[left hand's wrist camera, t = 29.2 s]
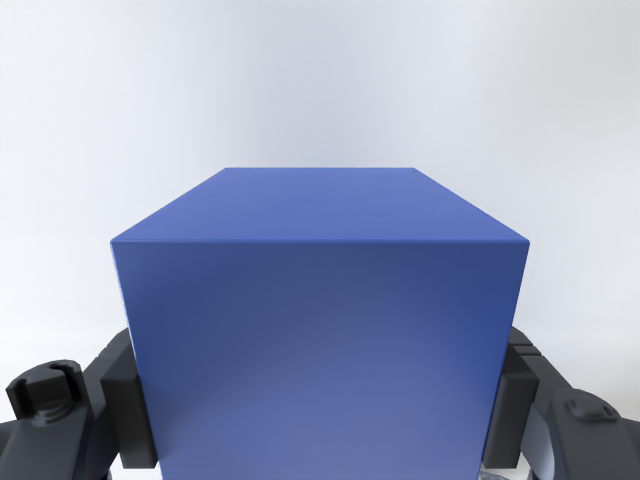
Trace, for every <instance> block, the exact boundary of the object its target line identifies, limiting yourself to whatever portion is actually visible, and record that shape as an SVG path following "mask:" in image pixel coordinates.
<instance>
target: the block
mask: <svg viewBox="0 0 640 480" xmlns="http://www.w3.org/2000/svg"><path fill="white" fill-rule="evenodd" d="M529 246H530V242H529V240H528V239H526V238H525V237H523V236H521V235H520V234H518V233H517V232H515V231H513V230H512V229H510V228H509V227H507V226H505V225H504V224H502V223H501V222H499V221H498V220H496V219H494V218H493V217H491V216H490V215H488V214H486V213H485V212H483V211H482V210H480V209H478V208H477V207H475V206H474V205H472V204H470V203H469V202H467V201H466V200H464V199H463V198H461V197H459V196H458V195H456V194H455V193H453V192H451V191H450V190H448V189H447V188H445V187H443V186H442V185H440V184H439V183H437V182H436V181H434V180H432V179H431V178H429V177H428V176H426V175H424V174H423V173H421V172H420V171H418V170H416V169H415V168H225V169H223V170H222V171H220V172H218V173H217V174H215V175H214V176H212V177H211V178H209V179H207V180H206V181H204V182H203V183H201V184H199V185H198V186H196V187H195V188H193V189H191V190H190V191H188V192H187V193H185V194H183V195H182V196H180V197H179V198H177V199H175V200H174V201H172V202H171V203H169V204H168V205H166V206H164V207H163V208H161V209H160V210H158V211H156V212H155V213H153V214H152V215H150V216H148V217H147V218H145V219H144V220H142V221H140V222H139V223H137V224H136V225H134V226H133V227H131V228H129V229H128V230H126V231H125V232H123V233H121V234H120V235H118V236H117V237H115V238H113V239H112V240H111V241H110V247H111V251H112V256H113V260H114V265H115V269H116V274H117V278H118V283H119V288H120V292H121V297H122V301H123V306H124V310H125V315H126V319H127V324H128V328H129V333H130V337H131V342H132V347H133V351H134V356H135V360H136V365H137V369H138V374H139V378H140V383H141V387H142V392H143V396H144V401H145V405H146V410H147V415H148V419H149V424H150V428H151V433H152V437H153V442H154V446H155V451H156V455H157V460H158V464H159V469H160V474H161V478H162V480H478V476H479V472H480V467H481V463H482V458H483V454H484V449H485V445H486V440H487V436H488V431H489V427H490V422H491V418H492V413H493V408H494V404H495V399H496V395H497V390H498V386H499V381H500V377H501V372H502V368H503V363H504V359H505V354H506V350H507V345H508V341H509V336H510V332H511V327H512V323H513V318H514V313H515V309H516V304H517V300H518V295H519V291H520V286H521V282H522V277H523V273H524V268H525V264H526V259H527V255H528V250H529Z"/></svg>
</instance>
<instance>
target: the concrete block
mask: <svg viewBox="0 0 640 480" xmlns="http://www.w3.org/2000/svg"><path fill="white" fill-rule="evenodd" d="M478 480H509V479H506V478H504V477H502V476H499V475H495V474H490V473H485V472H479V476H478Z"/></svg>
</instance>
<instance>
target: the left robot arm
mask: <svg viewBox="0 0 640 480" xmlns="http://www.w3.org/2000/svg"><path fill="white" fill-rule="evenodd" d="M5 390H6V392H7V395H8V397H9V400H10V403H11V405H12V408H13V410H14V413H15V415H16V418H17V420H13V421H9V422H5V423H0V480H112V475H111V471H110V466H111V465H112V463H113V461H114V459H115V458H116V456H117V454H118V453H119V454H120V457H121V461H122V465H123V468H124V469H154V468H155V466H156V464H157V462H158V460H157V455H156V451H155V446H154V442H153V437H152V433H151V428H150V424H149V419H148V415H147V410H146V405H145V401H144V396H143V392H142V387H141V383H140V378H139V374H138V369H137V365H136V360H135V356H134V351H133V347H132V342H131V337H130V333H129V328H128V327H127V328H126V329H124V330H123V331H121V332H120V333H118V334H117V335H116V336H115V337H114V338H113V339H112V340H111V341H110V343H109V344H108V345H107V348H104V349H103V350H102V351H101V353H100V354H99V356H98V357H96V358H95V359H94V360H93V361H92V363H91V364H90V365H89V366H88V367H87V368H86V369H85V370H84V371H83V373H82V370H81V367H80V365H79V364H78V363H77V362H75V361H72V360H57V361H51V362H47V363H44V364H41V365H38V366H36V367H34V368H32V369H30V370H28V371H26V372H24V373H22V374H21V375H20V376H18V377H17V378H15V379H14V380H13V381H12V382H11V383H10V384H9V386H8V387H7V388H6V389H5ZM521 451H522V453H523V455H524V456H525V458H526V460H527V461H528V463H529V465H530V466H531V468H530V471H529V475H528V478H527V480H640V422H638V421H633V420H629V419H625V418H622V417H621V416H620V415H619V413H618V412H617V410H615V409H614V408H613V407H612V406H611V405H609V404H608V403H607V402H606V401H604V400H602V399H601V398H599V397H597V396H595V395H593V394H591V393H588V392H585V391H583V390H580V389H574V388H572V387H571V385H570V384H569V383H568V382H567V381H566V380H565V379H564V378H563V377H562V376H561V374H560V373H559V372H558V371H557V370H556V369H555V368H554V367H553V366H552V364H551V363H550V362H549V361H548V360H547V359H546V358H545V357H544V356H542V355H541V352H540V351H539V350H538V349H537V348H536V347H535V346H533V344H532V342H531V341H530V340H529V339H528V338H527V337H526V336H525V335H524V334H523V333H522V332H521V331H519V330H518V329H516V328H514V327H513V326H512V327H511V332H510V336H509V341H508V345H507V350H506V354H505V359H504V363H503V368H502V372H501V377H500V381H499V386H498V390H497V395H496V399H495V404H494V408H493V413H492V418H491V422H490V427H489V431H488V436H487V440H486V445H485V449H484V454H483V458H482V462H483V464H484V467H485V469H516V467H517V464H518V460H519V456H520V453H521Z"/></svg>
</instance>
